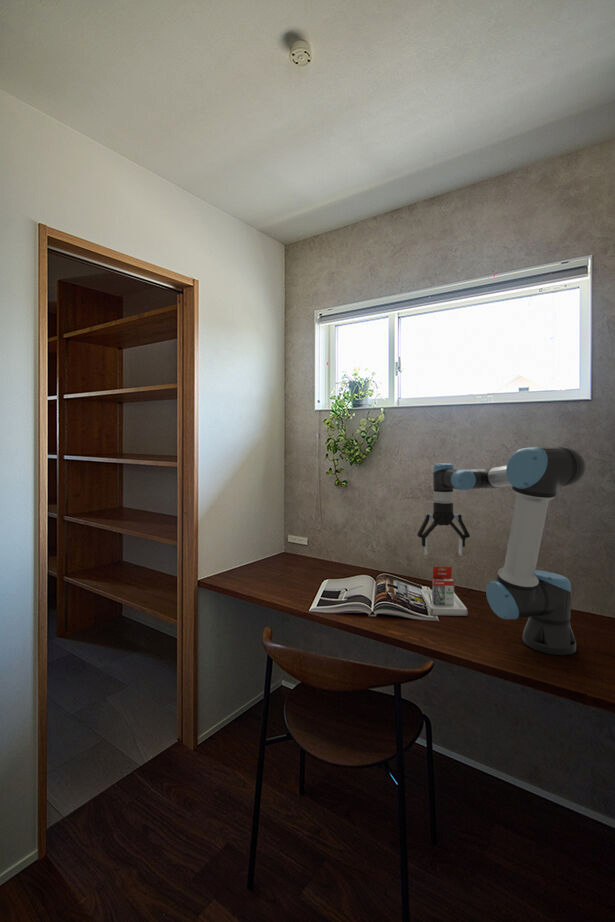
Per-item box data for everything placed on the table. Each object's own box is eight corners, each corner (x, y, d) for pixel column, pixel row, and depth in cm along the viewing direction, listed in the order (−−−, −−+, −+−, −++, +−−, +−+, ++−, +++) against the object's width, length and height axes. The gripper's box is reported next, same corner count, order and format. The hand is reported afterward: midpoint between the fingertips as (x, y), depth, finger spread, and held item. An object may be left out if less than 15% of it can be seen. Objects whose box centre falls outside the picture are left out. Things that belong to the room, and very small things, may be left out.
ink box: (454, 605, 173) (454, 569, 172) (433, 604, 173) (434, 568, 173) (451, 602, 176) (452, 566, 176) (431, 601, 177) (432, 566, 176)
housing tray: (467, 615, 164) (467, 609, 163) (430, 615, 165) (430, 608, 164) (452, 596, 185) (452, 590, 185) (420, 595, 186) (420, 589, 186)
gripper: (472, 500, 176) (472, 552, 177) (410, 500, 178) (410, 552, 178) (478, 503, 169) (478, 557, 169) (413, 503, 170) (413, 556, 171)
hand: (443, 554), depth 174 cm, fingers open, 13 cm apart
